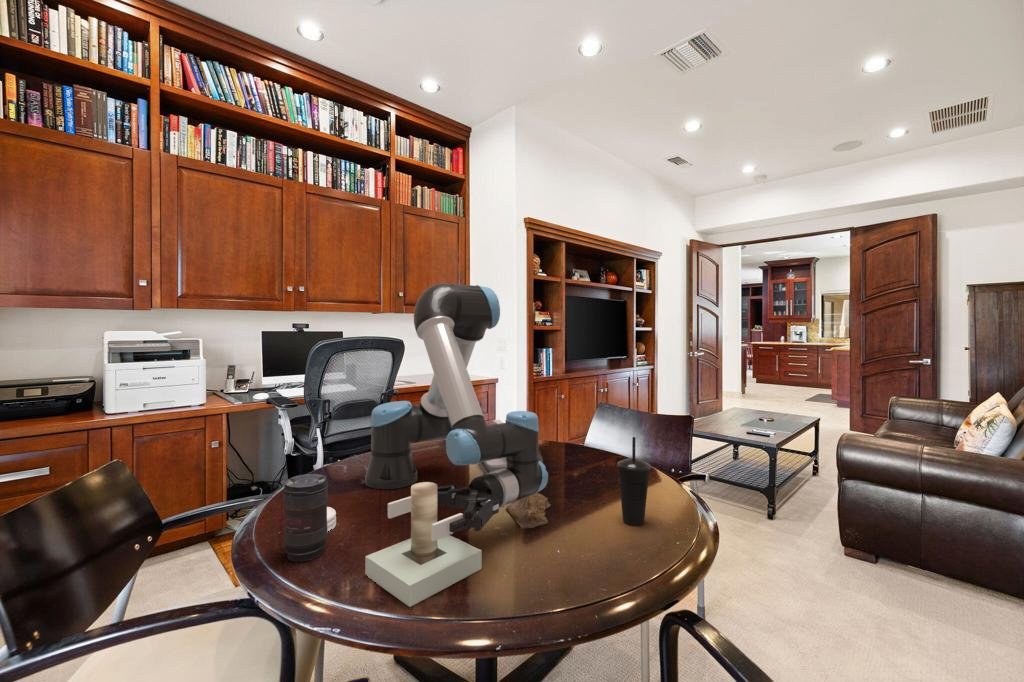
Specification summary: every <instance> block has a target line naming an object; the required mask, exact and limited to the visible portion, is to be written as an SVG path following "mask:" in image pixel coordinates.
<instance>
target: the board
mask: <svg viewBox="0 0 1024 682" xmlns="http://www.w3.org/2000/svg"><path fill="white" fill-rule="evenodd" d="M437 545H438V551H437V552H436V553H435V559H433V560H431V561H429V562H426V563H424V564H422V565H419V564H418V563H416V562H414V561H413V555H412V554H411V537H409V538H408V539H405V540H403V541H401V542H398V543H396V544H392V545H391V546H387V547H385V548H383V549H380V550H378V551H375V552H373V553H370V554H368V555H365V558H364V559H365V561H364V562H365V563H364V566H365V570H364V571H365V574H366V575H367V576H368V577H367V576H366V575H365V574H364V575H365V576H366V577H367V578H369V579H370V580H371V579H372V580H371V581H373V582H376V583H375V584H376V585H378V586H379V587H381V588H383V589H384V590H385V591H387V592H388V593H389V594H391V595H392V596H394V597H395V598H396V599H398V600H399V601H400V602H402V603H403V604H405V606H407V607H409V608H411V607H413V606H415V605H416V604H419V603H420V602H422V601H424V600H427V599H428V598H430V597H431V596H434V595H435V594H438V593H439V592H441V591H442V590H445V589H446V588H449V587H451V586H452V585H453V584H456V583H457V582H459V581H462V580H463V579H465V578H468V577H469V576H470V575H474V574H475V573H476V572H479V571H480V570H481V569H482V567H483V565H482V563H483V560H482V557H483V555H482V549H480V548H477V547H475V546H473V545H471V544H469V543H467V542H465V541H463V540H461V539H459V538H456V537H455V536H452V534H450V535H448V536H446V537H443V538H441V539H438V540H437Z"/></svg>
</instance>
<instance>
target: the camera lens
mask: <svg viewBox="0 0 1024 682" xmlns="http://www.w3.org/2000/svg"><path fill="white" fill-rule="evenodd" d="M328 485H329V484H328V481H327V477H326V476H325V475H322V474H318V473H311V474H310V473H307V474H299V475H296V476H295V475H294V476H293V477H290V478H288V479H287V480H285V481H284V487H283V489H282V493H283V495H282V496H283V497H282V498H283V499H282V500H283V501H282V503H283V511H284V519H283V520H284V524H283V525H284V526H283V527H284V528H283V541H284V550H285V552H287V558H288V560H290V561H292V562H298V561H299V562H306V561H311V560H314V559H316V558H318V557H320V556H321V555H323V553H324V552H325V545H326V544H327V539H328V532H327V507H328V501H329V495H328V494H329V491H328V489H329V488H328Z"/></svg>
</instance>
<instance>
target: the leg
mask: <svg viewBox="0 0 1024 682" xmlns="http://www.w3.org/2000/svg"><path fill="white" fill-rule="evenodd" d="M410 486H411V487H410V496H411V511H410V538H411V554H412V555H413V561H414V562H416V563H418V564H419V565H422V564H424V563H426V562H429V561H431V560H433V559H435V553H436V552H437V551H438V545H437V540H436V541H432V540H431V524H433V523H436V522H438V506H437V487H438V484H437V483H435V482H432V481H431V482H430V481H423V482H418V483H417V482H415V483H413V484H411V485H410Z"/></svg>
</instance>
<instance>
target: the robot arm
mask: <svg viewBox="0 0 1024 682" xmlns="http://www.w3.org/2000/svg"><path fill="white" fill-rule="evenodd" d="M500 317H501V306H500V301H499V297H498V295H497V294H496V292H495V290H493V289H492V288H490V287H488V286H483V285H482V286H481V285H478V284H476V285H469V284H457V283H447V282H441V283H439V282H438V283H437V284H434V285H431V286H430V287H427V288H426V289H425V290H424V291H423V292H422V293H421V295H420V296H419V297H418V299H417V301H416V303H415V305H414V311H413V325H414V328H415V333H416V335H417V337H418V338H419V339H420V340H423V343H424V346H425V350H426V353H427V355H428V356H427V357H428V359H429V362H430V365H431V368H432V371H433V376H432V380H431V384H430V386H429V389H428V391H427V392H426V393H425V392H424V394H423V395H422V396H421V398H420V401H419V404H412V403H411V401H409V400H399V401H397V400H395V401H390V402H386V403H382V404H379V405H377V406H376V407H374V408H373V409H372V411H371V417H370V418H371V420H370V430H371V432H370V435H371V438H370V443H371V445H370V450H371V451H370V452H371V453H370V459H369V463H368V466H367V469H366V473H365V476H364V484H365V486H366V487H368V488H371V489H375V490H395V489H402V488H405V487H408V486H412V485H414V484H416V483H417V481H418V470H417V468H416V467H417V466H416V464H415V461H414V458H413V454H412V444H420V443H425V442H433V441H442V440H445V447H446V449H445V452H446V455H447V457H448V459H449V461H450V463H452V464H453V465H455V466H459V467H460V466H469V465H477V464H479V463H480V462H485V461H489V460H493V459H500V458H505V457H506V463H507V467H506V468H503V469H500V470H497V471H493V472H490V473H488V474H485V473H484V474H482V475H479V476H476V477H474V478H473V479H472V480H471V482H469V485H468V486H462V487H460V488H459V487H458V484H457V483H452V484H448V485H442V486H441V485H440V486H437V507H438V506H439V507H440V506H448V507H449V508H460V509H462V510H464V514H463V513H461V512H460V513H457V514H454V515H452V516H449V517H446V518H444V519H442V520H439V521H438V520H437V522H436V523H433V524H431V540H432V541H436V540H438V539H441V538H443V537H446V536H448V535H453V534H455V533H458V532H460V531H462V530H471V529H473V530H474V532H480V531H482V530H483V528H484V526H486V524H487V523H488V522H489V521H490V519H491V518H492V517H493V516H494V515H496V514H498V513H499V512H500V511H499V509H500V508H504V507H505V506H508V505H510V503H512V502H515V501H517V500H520V499H522V498H525V497H527V496H532V495H534V494H535V493H538V492H541V491H542V490H543V489H545V487H546V486H547V484H548V482H549V481H548V480H549V472H548V471H547V467H546V465H545V464H544V462H543V463H542V462H541V461H539V460H538V452H539V438H540V437H539V436H540V435H539V434H540V426H539V425H540V423H539V417H538V415H537V413H535V412H532V411H528V410H527V411H526V410H516V411H511V412H508V413H507V414H506V415H505V417H506V419H505V422H503V423H501V424H493V425H492V424H487V421H486V419H485V416H484V413H483V411H482V408H481V406H480V403H479V402H480V401H479V399H478V397H477V394H476V391H475V389H474V386H473V384H472V380H471V378H470V374H469V372H468V365H469V362H470V360H471V357H472V354H473V352H474V348H475V345H476V343H477V342H480V341H481V340H483V338H484V336H485V333H486V331H487V329H488V330H491V329H493V328H495V327H497V325H498V324H499V321H500ZM453 500H454V501H453ZM407 513H411V495H409V496H407V497H404V498H400V499H398V500H394V501H390V502H388V503H387V518H388V519H393V518H396V517H398V516H401V515H405V514H407Z"/></svg>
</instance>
